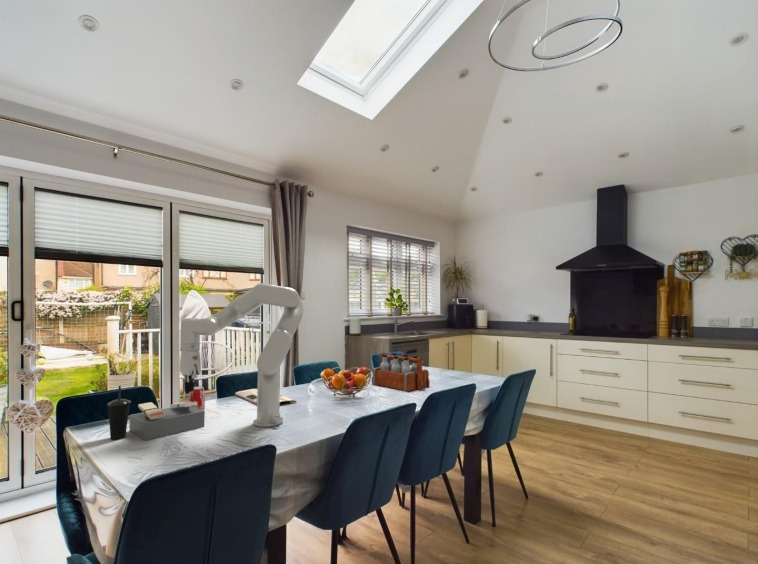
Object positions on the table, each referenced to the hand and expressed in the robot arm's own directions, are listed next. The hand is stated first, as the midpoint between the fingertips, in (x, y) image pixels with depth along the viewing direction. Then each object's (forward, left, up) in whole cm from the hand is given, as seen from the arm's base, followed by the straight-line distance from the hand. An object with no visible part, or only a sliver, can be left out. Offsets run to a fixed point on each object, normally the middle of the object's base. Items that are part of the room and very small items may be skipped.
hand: (189, 391), depth 170 cm
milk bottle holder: (-14, -126, -16) cm, 128 cm away
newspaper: (+19, -50, -16) cm, 56 cm away
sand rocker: (+5, +13, -6) cm, 15 cm away
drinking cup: (+8, +23, -15) cm, 29 cm away
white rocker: (+5, 0, -6) cm, 8 cm away
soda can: (+19, -12, -15) cm, 28 cm away
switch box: (+8, +6, -15) cm, 18 cm away
